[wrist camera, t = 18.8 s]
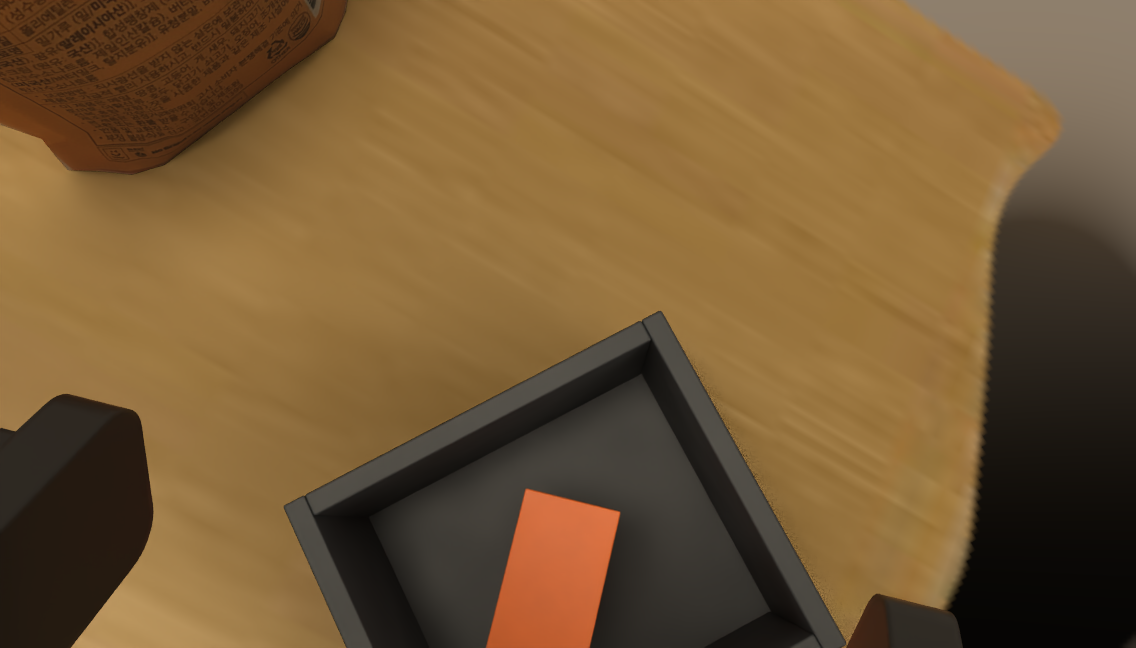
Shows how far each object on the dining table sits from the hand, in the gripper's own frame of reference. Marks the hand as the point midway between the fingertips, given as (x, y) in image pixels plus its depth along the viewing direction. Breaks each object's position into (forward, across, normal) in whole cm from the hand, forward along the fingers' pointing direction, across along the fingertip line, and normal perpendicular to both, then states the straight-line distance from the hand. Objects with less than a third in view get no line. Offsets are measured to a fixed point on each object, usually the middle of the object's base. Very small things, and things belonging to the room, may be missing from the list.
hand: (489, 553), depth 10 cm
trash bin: (+21, 0, -23) cm, 31 cm away
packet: (+20, 0, -22) cm, 30 cm away
